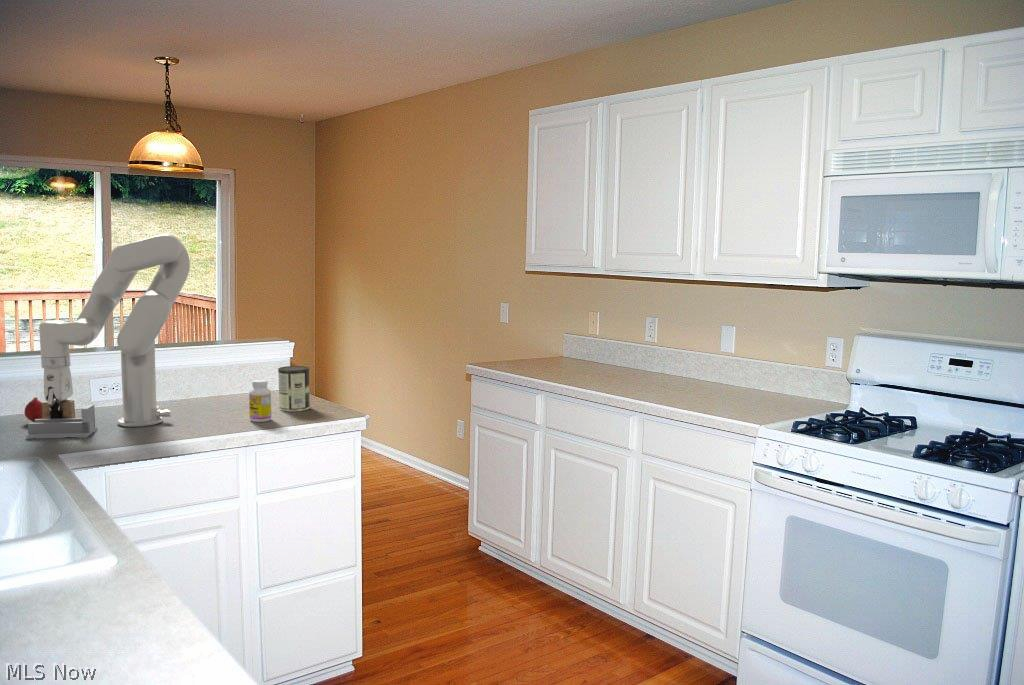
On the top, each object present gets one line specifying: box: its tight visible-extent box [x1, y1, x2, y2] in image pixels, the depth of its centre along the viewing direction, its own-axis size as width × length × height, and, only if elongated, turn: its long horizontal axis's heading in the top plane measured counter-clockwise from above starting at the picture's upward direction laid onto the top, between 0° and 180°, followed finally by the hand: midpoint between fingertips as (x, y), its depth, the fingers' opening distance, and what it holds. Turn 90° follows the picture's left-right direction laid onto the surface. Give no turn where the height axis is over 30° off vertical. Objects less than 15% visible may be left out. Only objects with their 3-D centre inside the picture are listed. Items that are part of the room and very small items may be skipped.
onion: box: [23, 396, 43, 423], centre depth 246 cm, size 6×6×8 cm
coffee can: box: [277, 365, 311, 413], centre depth 273 cm, size 10×10×14 cm
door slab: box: [41, 399, 76, 419], centre depth 241 cm, size 8×3×8 cm, turn 100°
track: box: [25, 404, 98, 440], centre depth 233 cm, size 16×9×8 cm, turn 100°
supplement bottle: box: [248, 379, 272, 423], centre depth 255 cm, size 7×7×13 cm
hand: (59, 421), depth 241 cm, fingers closed on door slab, 3 cm apart
